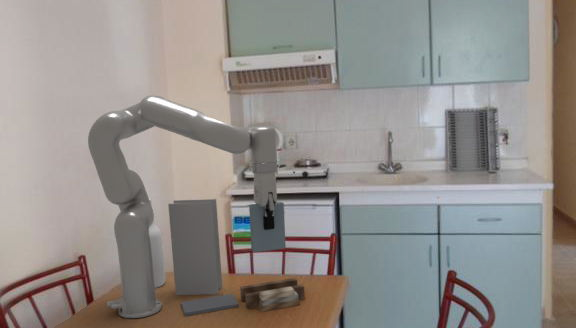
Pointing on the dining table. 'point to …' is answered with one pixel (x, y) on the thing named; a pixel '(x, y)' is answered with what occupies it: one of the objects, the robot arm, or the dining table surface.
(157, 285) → the alcohol
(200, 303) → the slate mat
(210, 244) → the grey tall flat block
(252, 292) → the rack
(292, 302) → the offcut stack
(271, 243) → the blue grey brick
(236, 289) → the dining table surface
